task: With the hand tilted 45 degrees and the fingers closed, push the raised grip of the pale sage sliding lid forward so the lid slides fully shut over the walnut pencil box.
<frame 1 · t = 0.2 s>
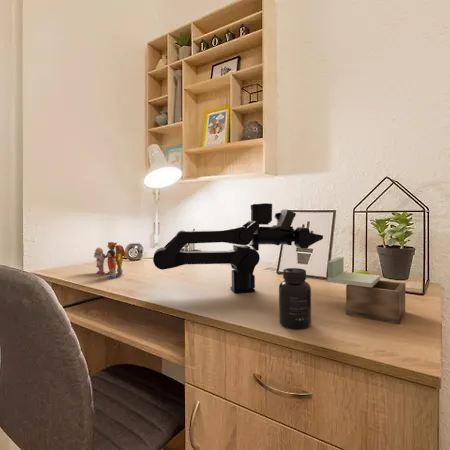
hand: (315, 235, 100), 17 cm above the table, tool horizontal, fingers open, 9 cm apart
lid: (354, 270, 75), point 10 cm above the table, slide at 5.0 cm
pencil box: (375, 313, 72), on the table
tennis ball: (361, 292, 91), on the table
supplement bottle: (295, 325, 66), on the table
doll family: (113, 275, 124), on the table
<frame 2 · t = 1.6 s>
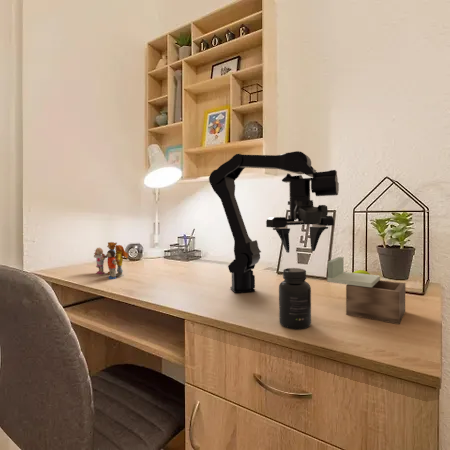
hand: (300, 251, 87), 13 cm above the table, tool pointing down, fingers open, 8 cm apart
nothing on the table moved.
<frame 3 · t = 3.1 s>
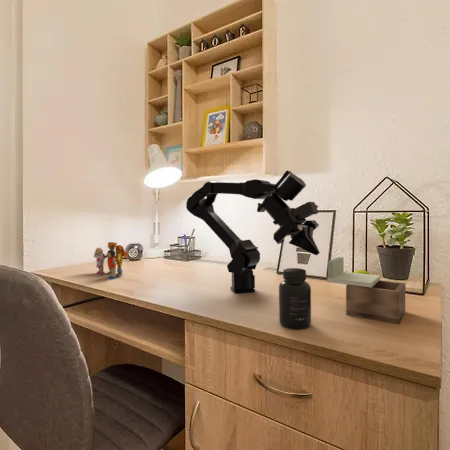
hand: (318, 254, 80), 13 cm above the table, tool tilted 45°, fingers closed
nothing on the table moved.
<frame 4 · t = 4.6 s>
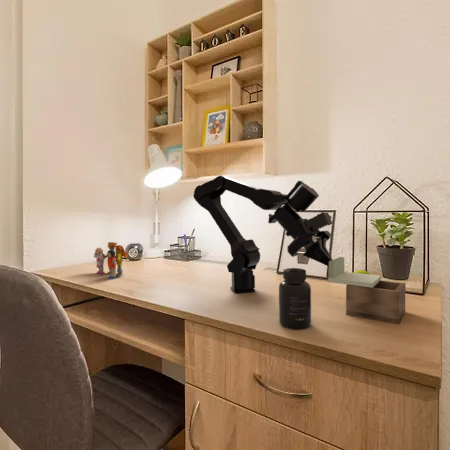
hand: (333, 266, 78), 10 cm above the table, tool tilted 45°, fingers closed, pressing on lid
lid: (355, 270, 75), point 10 cm above the table, slide at 4.8 cm, touching gripper
everything else where it was.
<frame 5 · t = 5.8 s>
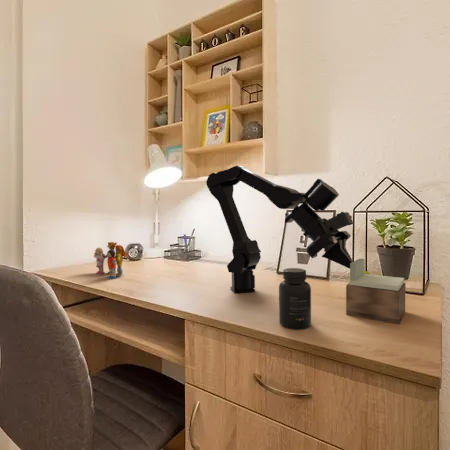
hand: (354, 268, 75), 10 cm above the table, tool tilted 45°, fingers closed, pressing on lid
lid: (377, 273, 72), point 10 cm above the table, slide at -0.3 cm, touching gripper
everything else where it was.
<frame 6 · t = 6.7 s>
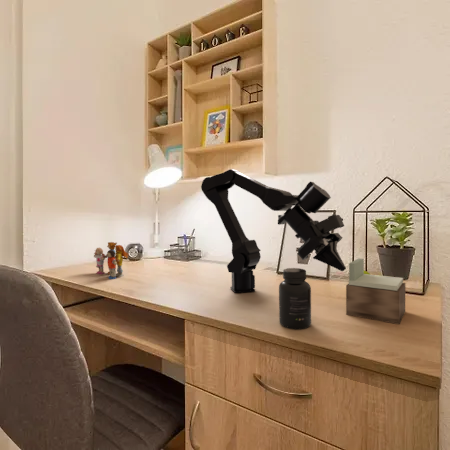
hand: (344, 270, 76), 10 cm above the table, tool tilted 45°, fingers closed
lid: (376, 272, 72), point 10 cm above the table, slide at 0.0 cm
everything else where it was.
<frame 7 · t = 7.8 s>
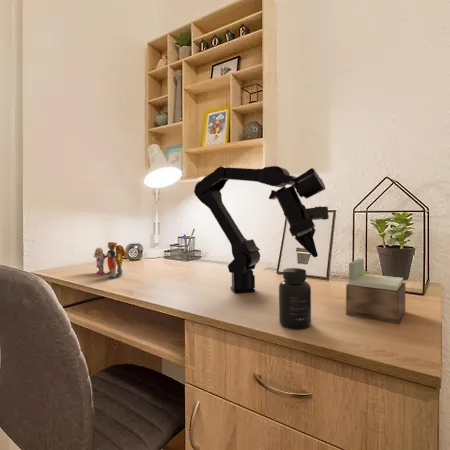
hand: (316, 256, 83), 12 cm above the table, tool tilted 25°, fingers closed
nothing on the table moved.
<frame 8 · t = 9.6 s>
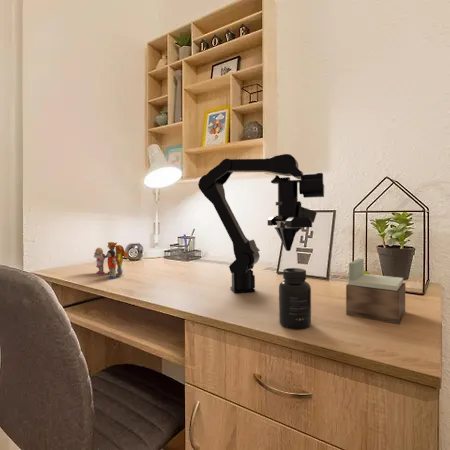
hand: (288, 250, 90), 13 cm above the table, tool pointing down, fingers closed
nothing on the table moved.
at the end: lid slide at 0.0 cm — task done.
